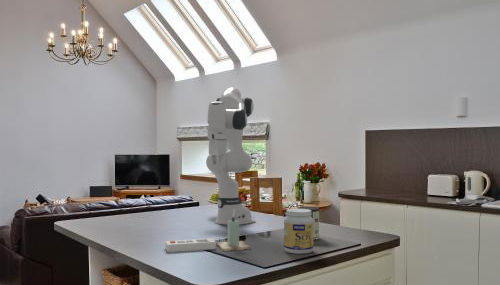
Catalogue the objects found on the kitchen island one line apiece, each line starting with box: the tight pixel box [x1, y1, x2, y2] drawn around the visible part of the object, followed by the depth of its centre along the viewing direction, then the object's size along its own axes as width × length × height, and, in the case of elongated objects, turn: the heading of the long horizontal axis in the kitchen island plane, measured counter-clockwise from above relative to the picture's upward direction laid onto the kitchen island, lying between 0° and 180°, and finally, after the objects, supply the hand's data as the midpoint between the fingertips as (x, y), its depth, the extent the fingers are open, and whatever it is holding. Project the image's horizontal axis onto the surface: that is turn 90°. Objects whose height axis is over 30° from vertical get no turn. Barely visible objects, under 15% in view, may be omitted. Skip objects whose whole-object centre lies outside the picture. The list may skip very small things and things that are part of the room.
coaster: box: [216, 240, 252, 252], centre depth 196 cm, size 12×12×1 cm
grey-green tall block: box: [226, 217, 240, 246], centre depth 196 cm, size 4×4×12 cm
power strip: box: [164, 238, 217, 253], centre depth 193 cm, size 20×7×4 cm, turn 108°
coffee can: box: [296, 205, 320, 241], centre depth 217 cm, size 10×10×14 cm
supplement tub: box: [283, 208, 314, 255], centre depth 190 cm, size 12×12×17 cm
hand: (216, 165), depth 216 cm, fingers open, 8 cm apart
